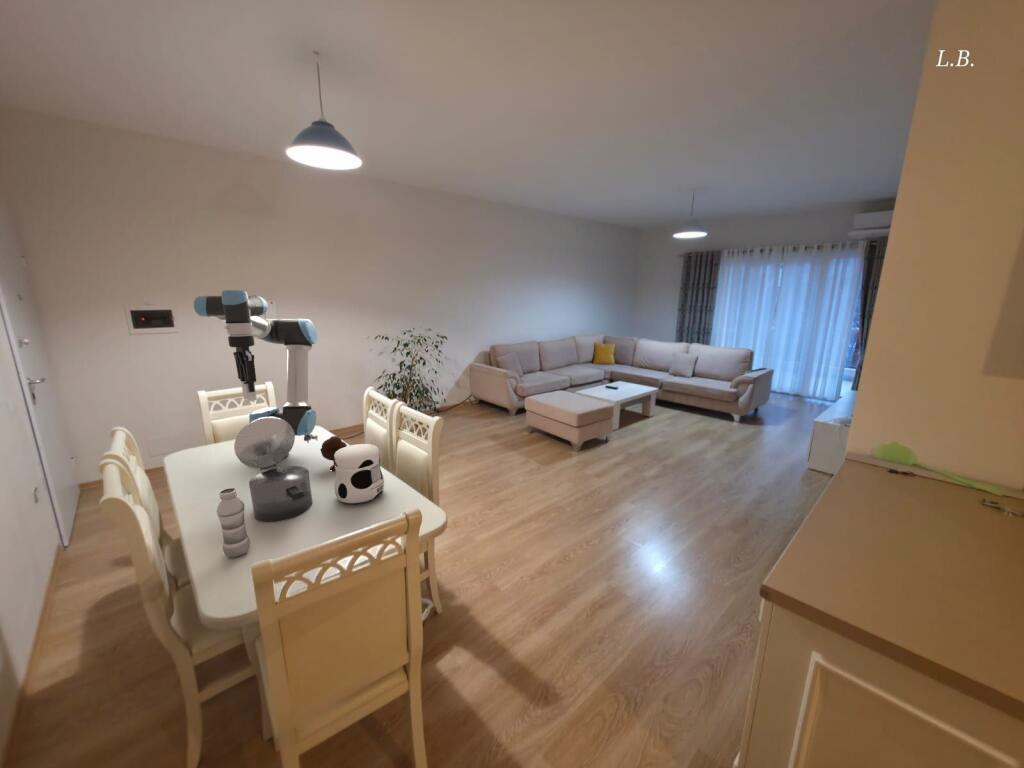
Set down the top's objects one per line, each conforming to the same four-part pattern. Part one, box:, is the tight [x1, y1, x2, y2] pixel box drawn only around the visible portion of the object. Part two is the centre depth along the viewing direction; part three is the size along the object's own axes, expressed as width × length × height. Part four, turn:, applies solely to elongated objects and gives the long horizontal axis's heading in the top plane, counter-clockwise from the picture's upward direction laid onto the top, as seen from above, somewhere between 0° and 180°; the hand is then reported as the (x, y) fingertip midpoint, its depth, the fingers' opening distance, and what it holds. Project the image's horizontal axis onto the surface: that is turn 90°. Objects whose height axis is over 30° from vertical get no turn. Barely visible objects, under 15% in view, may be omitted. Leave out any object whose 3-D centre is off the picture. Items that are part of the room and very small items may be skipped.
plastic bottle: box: [216, 487, 251, 559], centre depth 115 cm, size 6×7×20 cm
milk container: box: [333, 443, 385, 505], centre depth 149 cm, size 17×17×18 cm
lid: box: [233, 417, 296, 472], centre depth 144 cm, size 20×19×4 cm
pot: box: [248, 465, 313, 523], centre depth 139 cm, size 24×18×12 cm
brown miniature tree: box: [319, 435, 348, 472], centre depth 173 cm, size 11×11×15 cm
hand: (250, 399), depth 146 cm, fingers open, 3 cm apart
